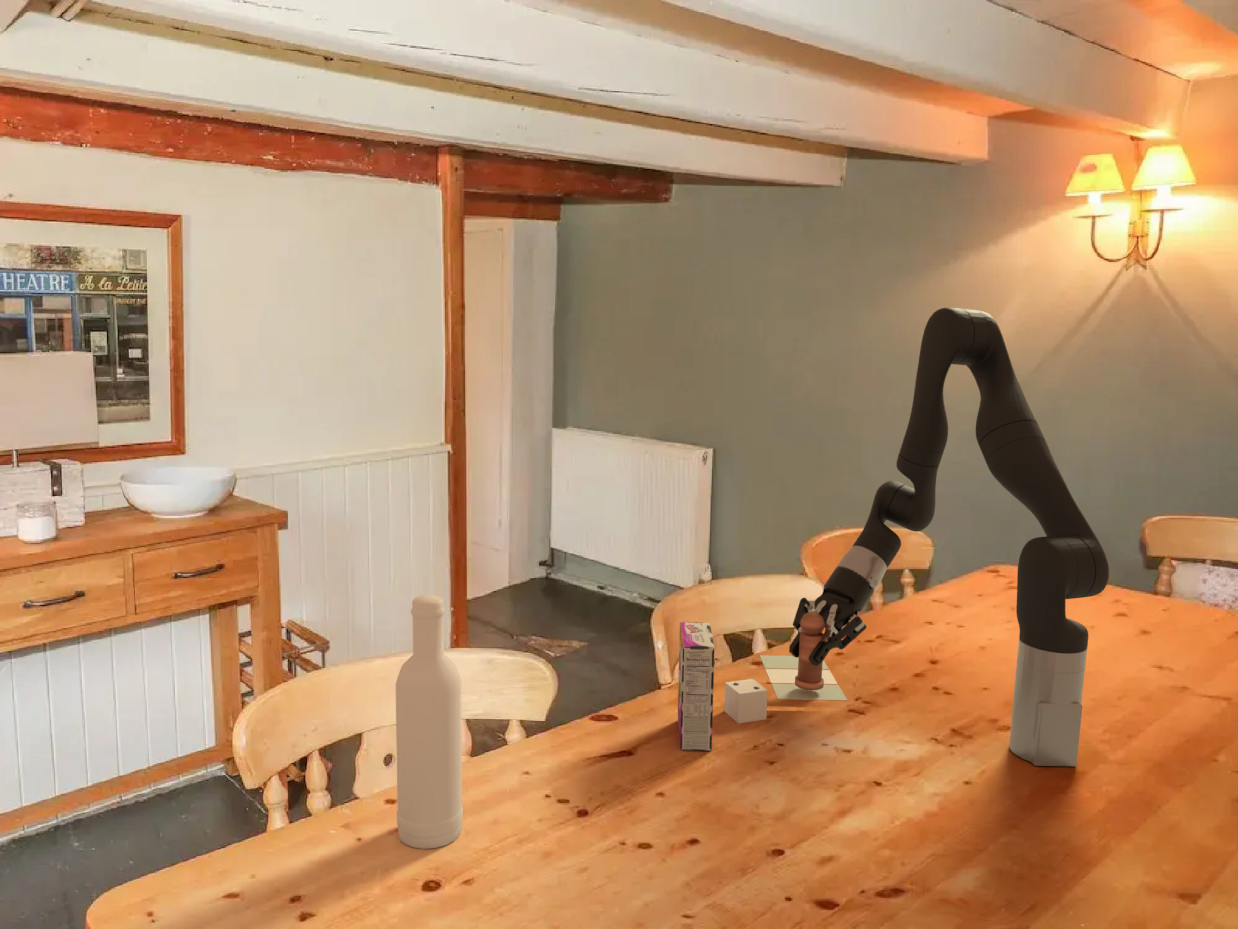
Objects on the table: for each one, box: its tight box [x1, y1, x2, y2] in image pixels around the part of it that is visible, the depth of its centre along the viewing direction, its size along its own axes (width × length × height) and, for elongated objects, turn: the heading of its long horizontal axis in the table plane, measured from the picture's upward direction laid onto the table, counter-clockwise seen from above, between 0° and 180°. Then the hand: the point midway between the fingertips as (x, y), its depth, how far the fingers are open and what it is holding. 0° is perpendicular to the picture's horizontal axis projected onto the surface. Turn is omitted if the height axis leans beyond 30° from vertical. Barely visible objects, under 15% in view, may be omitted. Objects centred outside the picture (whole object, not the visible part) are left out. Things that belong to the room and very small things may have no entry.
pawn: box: [795, 612, 825, 690], centre depth 165 cm, size 5×5×13 cm
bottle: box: [395, 594, 464, 850], centre depth 119 cm, size 8×8×30 cm
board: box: [759, 654, 848, 701], centre depth 174 cm, size 22×13×1 cm, turn 0°
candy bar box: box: [677, 621, 715, 752], centre depth 149 cm, size 11×5×16 cm, turn 179°
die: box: [723, 678, 769, 724], centre depth 158 cm, size 5×5×5 cm
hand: (802, 658), depth 165 cm, fingers closed on pawn, 4 cm apart
